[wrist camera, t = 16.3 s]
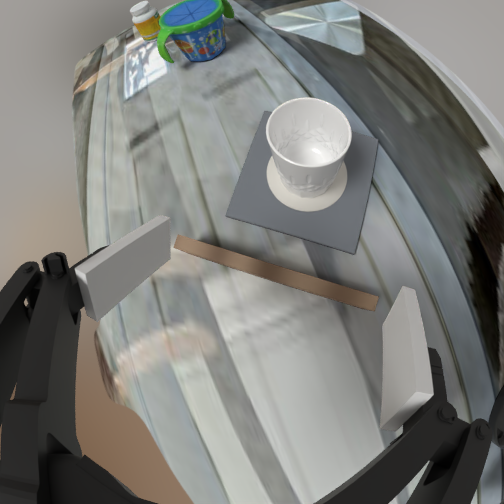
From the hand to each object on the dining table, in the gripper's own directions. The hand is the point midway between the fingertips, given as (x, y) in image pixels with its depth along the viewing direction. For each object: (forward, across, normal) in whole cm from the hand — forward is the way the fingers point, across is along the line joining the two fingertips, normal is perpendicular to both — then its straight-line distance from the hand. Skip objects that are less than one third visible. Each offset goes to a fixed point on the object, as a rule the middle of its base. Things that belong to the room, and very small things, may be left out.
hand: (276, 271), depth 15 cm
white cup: (+22, -2, 0) cm, 22 cm away
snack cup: (+35, -25, +18) cm, 46 cm away
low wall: (+15, -2, -10) cm, 18 cm away
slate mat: (+23, -2, 0) cm, 23 cm away
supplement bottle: (+38, -40, +23) cm, 60 cm away
